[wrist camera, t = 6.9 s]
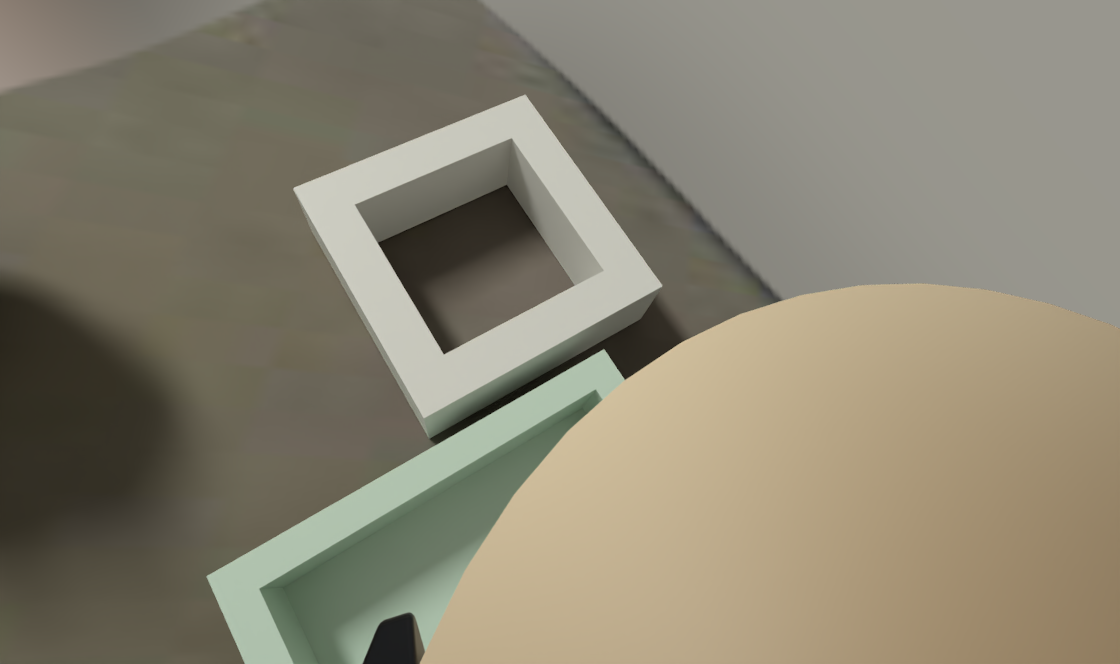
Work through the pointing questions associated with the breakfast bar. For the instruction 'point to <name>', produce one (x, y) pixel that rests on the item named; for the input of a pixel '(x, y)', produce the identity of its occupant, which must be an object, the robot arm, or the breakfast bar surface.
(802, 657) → the beech dowel
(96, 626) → the breakfast bar surface
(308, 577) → the pale green tray
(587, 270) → the white square frame
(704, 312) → the breakfast bar surface
